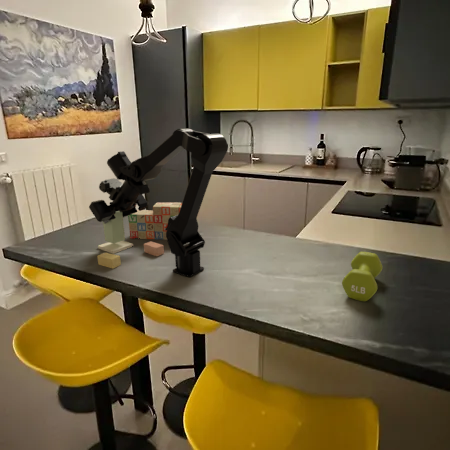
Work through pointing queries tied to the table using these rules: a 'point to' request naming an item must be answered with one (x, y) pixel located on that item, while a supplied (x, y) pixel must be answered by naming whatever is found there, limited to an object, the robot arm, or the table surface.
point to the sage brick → (114, 229)
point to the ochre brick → (109, 260)
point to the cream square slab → (115, 246)
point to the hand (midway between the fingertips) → (110, 220)
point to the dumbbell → (362, 276)
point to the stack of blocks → (152, 221)
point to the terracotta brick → (154, 248)
